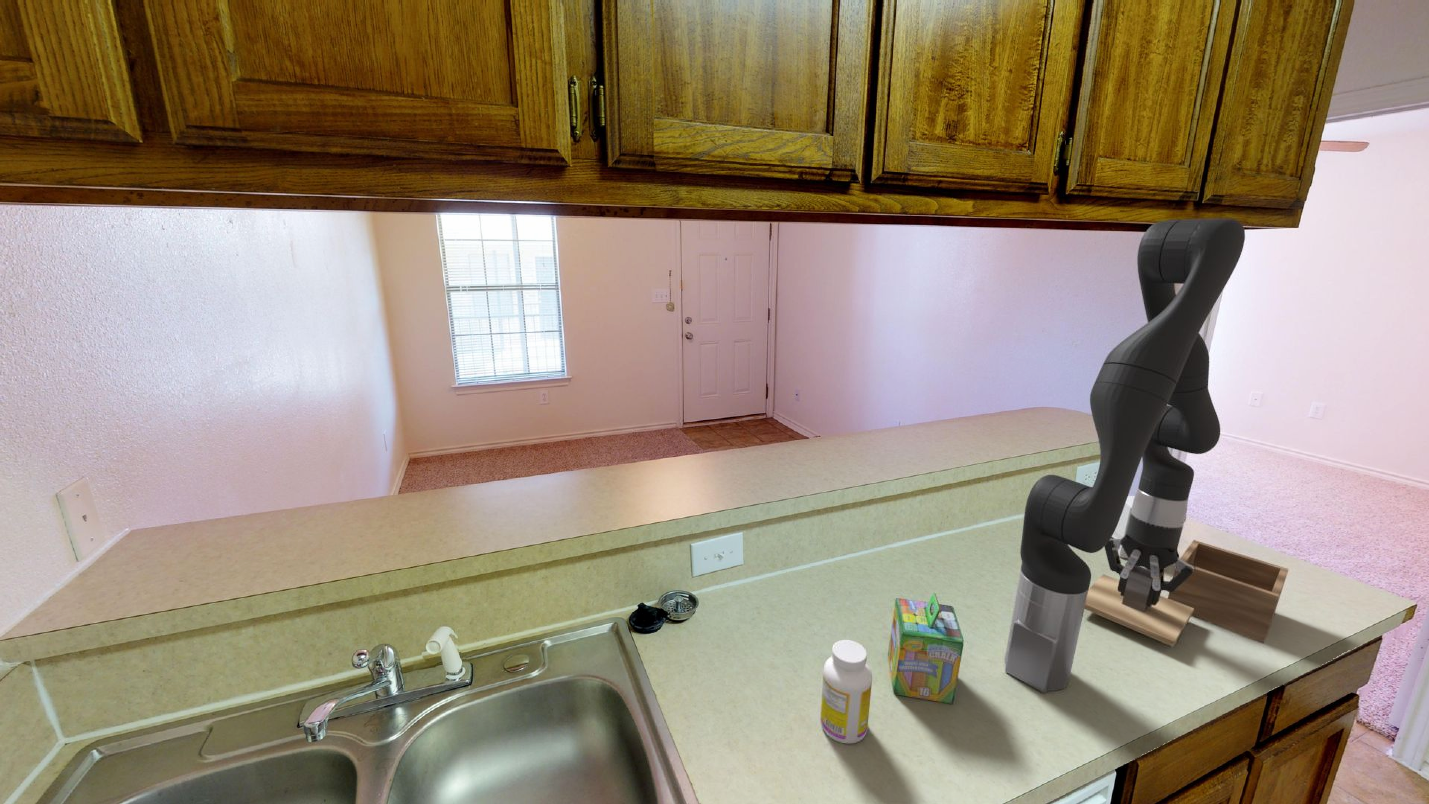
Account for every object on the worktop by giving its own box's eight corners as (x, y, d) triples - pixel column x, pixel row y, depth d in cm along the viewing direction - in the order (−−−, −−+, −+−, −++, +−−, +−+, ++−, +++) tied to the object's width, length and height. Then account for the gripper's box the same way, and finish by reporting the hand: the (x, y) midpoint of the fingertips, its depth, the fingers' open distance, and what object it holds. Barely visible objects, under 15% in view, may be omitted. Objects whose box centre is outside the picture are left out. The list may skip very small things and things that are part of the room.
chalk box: (887, 655, 94) (895, 578, 90) (944, 664, 92) (955, 586, 88) (891, 696, 85) (901, 612, 81) (955, 707, 83) (968, 622, 79)
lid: (1172, 646, 94) (1183, 606, 92) (1076, 605, 105) (1084, 568, 103) (1192, 613, 103) (1203, 575, 101) (1102, 578, 114) (1110, 543, 112)
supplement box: (1155, 561, 124) (1167, 510, 121) (1118, 557, 126) (1129, 507, 122) (1137, 545, 131) (1149, 496, 128) (1103, 542, 133) (1113, 493, 129)
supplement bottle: (859, 707, 83) (866, 634, 80) (873, 745, 76) (881, 667, 73) (815, 708, 83) (820, 635, 79) (825, 746, 76) (831, 668, 73)
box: (1263, 643, 98) (1278, 596, 96) (1165, 605, 108) (1177, 562, 106) (1274, 612, 107) (1288, 569, 104) (1183, 580, 117) (1193, 539, 115)
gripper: (1104, 508, 102) (1086, 589, 106) (1203, 537, 91) (1179, 627, 96) (1117, 497, 107) (1099, 576, 111) (1212, 524, 96) (1189, 610, 101)
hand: (1136, 599), depth 103 cm, fingers closed on lid, 3 cm apart
